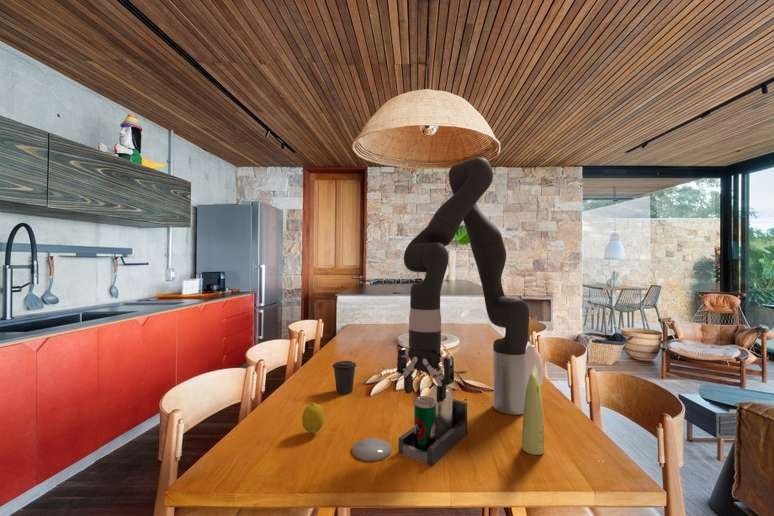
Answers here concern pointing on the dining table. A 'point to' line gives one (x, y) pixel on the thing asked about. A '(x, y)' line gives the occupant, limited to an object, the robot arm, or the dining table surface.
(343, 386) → the coffee cup
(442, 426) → the grey metal cylinder
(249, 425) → the dining table surface
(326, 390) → the dining table surface
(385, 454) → the grey disc
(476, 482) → the dining table surface
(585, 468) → the dining table surface
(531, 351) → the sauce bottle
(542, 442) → the tube
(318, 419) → the lemon
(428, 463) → the can rack
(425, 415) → the soda can
